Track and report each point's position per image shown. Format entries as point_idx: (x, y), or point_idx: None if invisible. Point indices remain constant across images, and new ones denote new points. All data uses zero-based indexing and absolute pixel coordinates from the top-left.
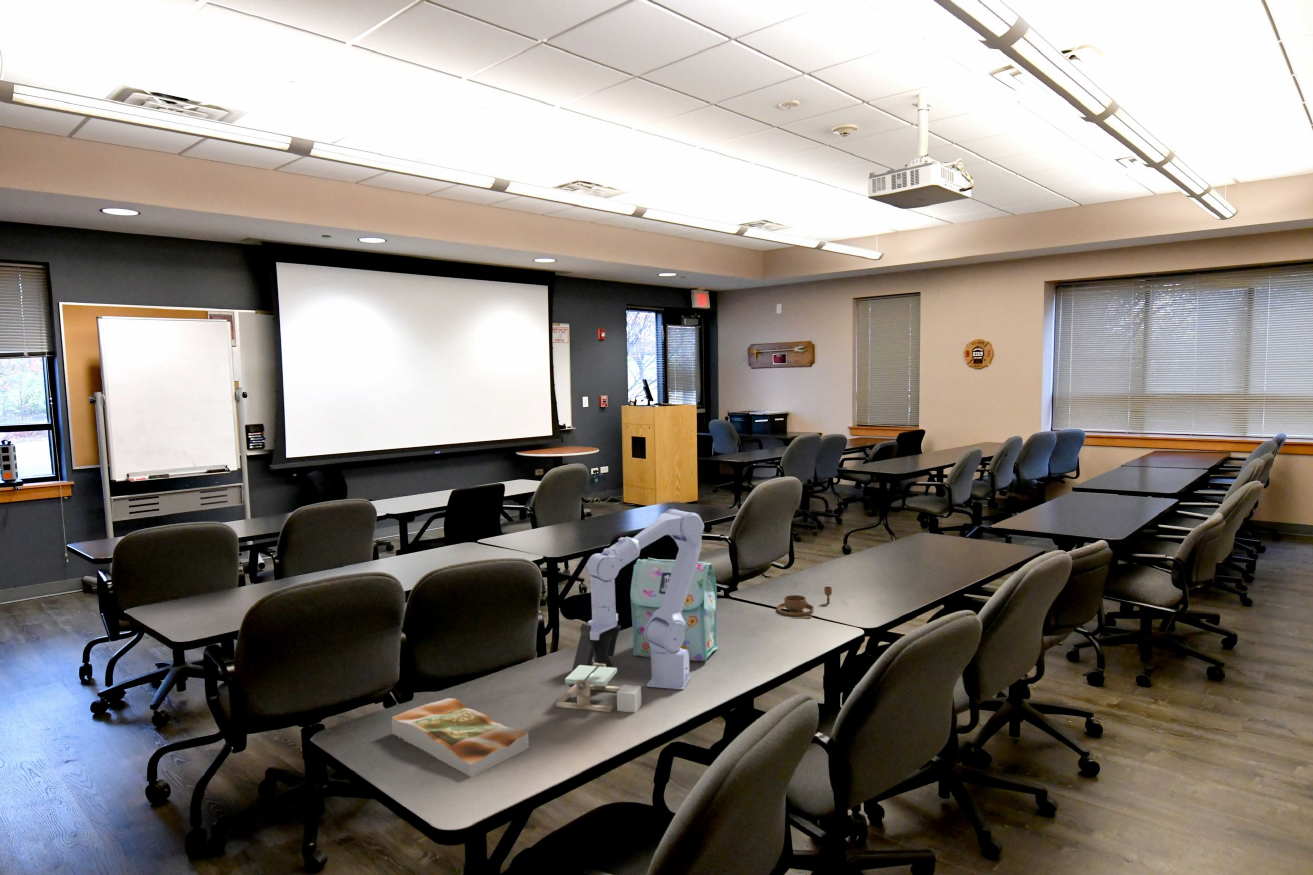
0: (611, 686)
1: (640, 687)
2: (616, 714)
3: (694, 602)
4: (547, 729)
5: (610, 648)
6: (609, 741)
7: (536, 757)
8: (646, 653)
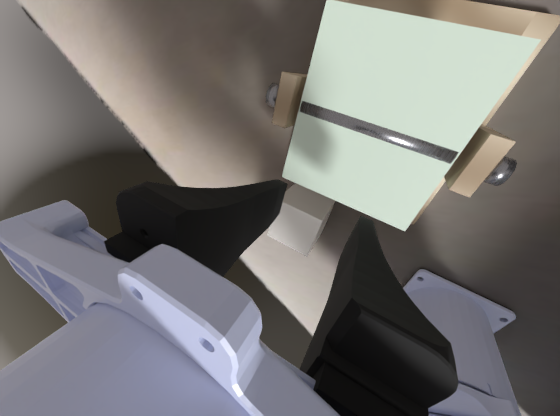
0: (441, 181)
1: (305, 254)
2: (278, 179)
3: None
4: (208, 10)
5: (341, 262)
6: (189, 160)
7: (122, 26)
8: None
